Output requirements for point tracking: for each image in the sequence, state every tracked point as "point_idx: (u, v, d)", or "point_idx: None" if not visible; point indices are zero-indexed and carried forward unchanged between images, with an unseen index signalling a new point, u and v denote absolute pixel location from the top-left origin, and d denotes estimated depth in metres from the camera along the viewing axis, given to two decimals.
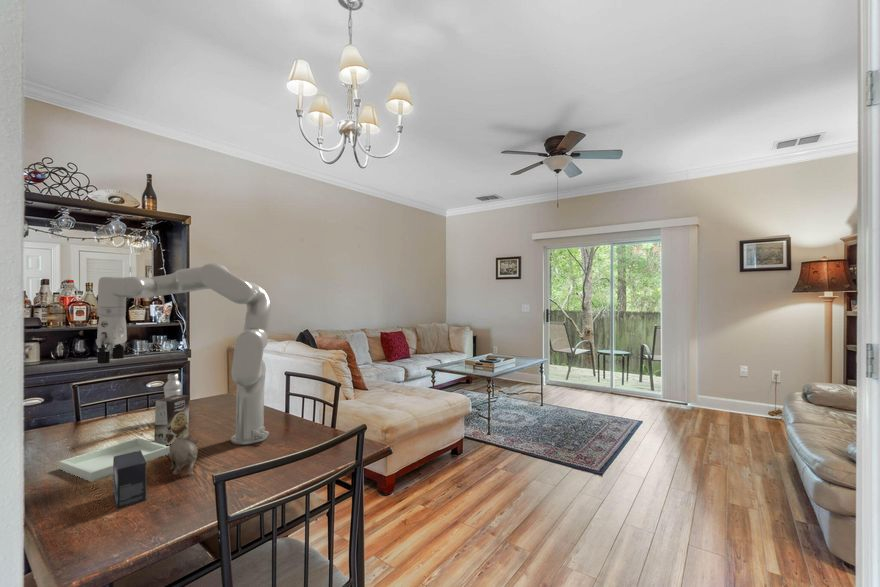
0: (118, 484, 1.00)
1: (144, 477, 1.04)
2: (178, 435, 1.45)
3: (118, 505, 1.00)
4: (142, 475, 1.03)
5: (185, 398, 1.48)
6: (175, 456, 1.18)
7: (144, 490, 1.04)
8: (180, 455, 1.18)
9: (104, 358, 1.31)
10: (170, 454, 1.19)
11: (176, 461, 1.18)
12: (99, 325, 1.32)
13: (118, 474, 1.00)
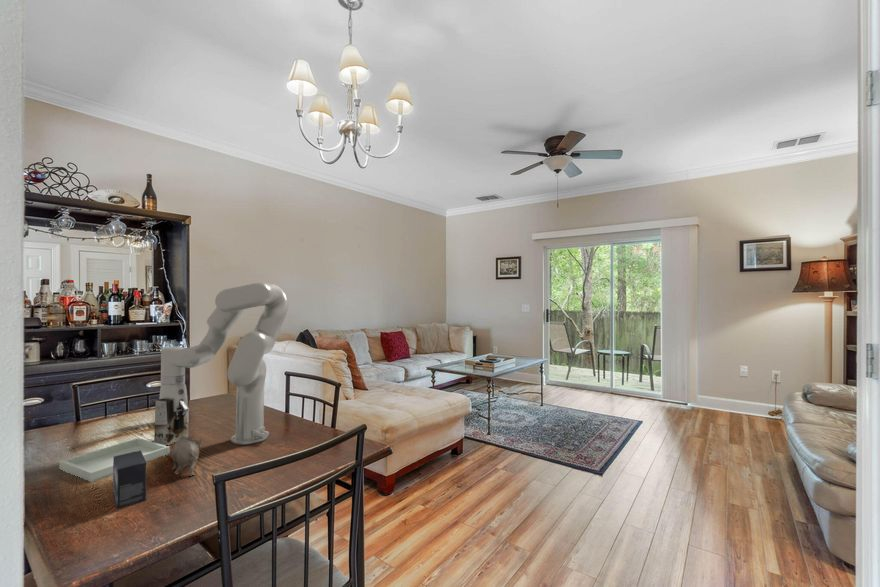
0: (118, 484, 1.00)
1: (144, 477, 1.04)
2: (178, 435, 1.45)
3: (118, 505, 1.00)
4: (142, 475, 1.03)
5: None
6: (176, 456, 1.18)
7: (144, 490, 1.04)
8: (182, 455, 1.18)
9: (182, 424, 1.44)
10: (172, 454, 1.19)
11: (177, 461, 1.18)
12: (176, 393, 1.42)
13: (118, 474, 1.00)
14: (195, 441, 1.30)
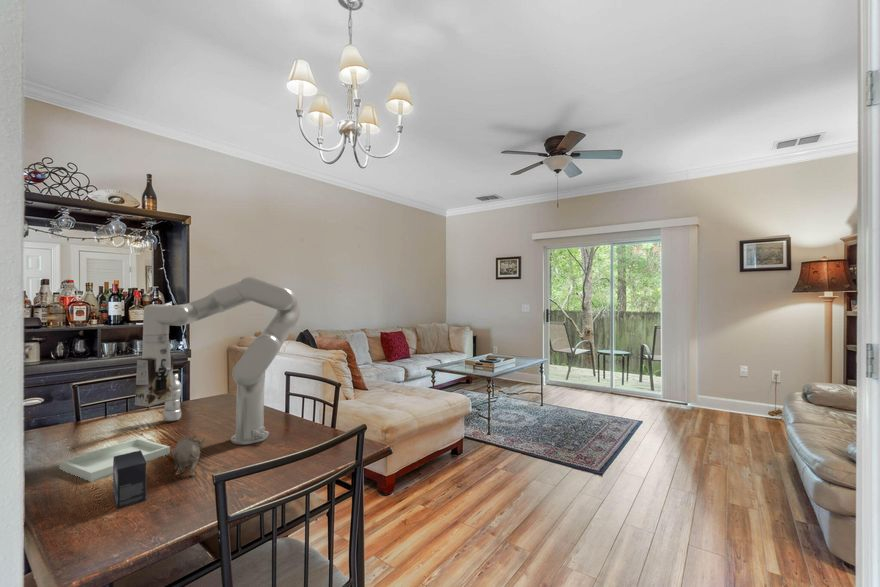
0: (118, 484, 1.00)
1: (144, 477, 1.04)
2: (160, 397, 1.38)
3: (118, 505, 1.00)
4: (142, 475, 1.03)
5: None
6: (177, 456, 1.18)
7: (144, 490, 1.04)
8: (182, 455, 1.17)
9: (164, 385, 1.37)
10: (173, 454, 1.19)
11: (178, 461, 1.18)
12: (158, 353, 1.36)
13: (118, 474, 1.00)
14: (197, 441, 1.30)
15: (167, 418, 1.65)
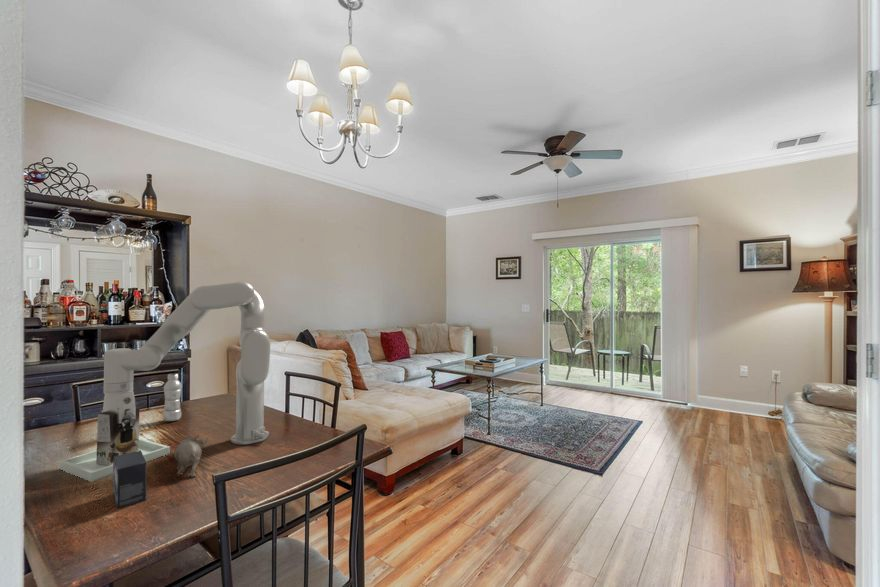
0: (118, 484, 1.00)
1: (144, 477, 1.04)
2: (125, 453, 1.26)
3: (118, 505, 1.00)
4: (142, 475, 1.03)
5: None
6: (178, 457, 1.18)
7: (144, 490, 1.04)
8: (183, 456, 1.17)
9: (130, 436, 1.25)
10: (174, 454, 1.19)
11: (179, 462, 1.18)
12: (121, 402, 1.24)
13: (118, 474, 1.00)
14: (200, 441, 1.30)
15: (167, 418, 1.65)
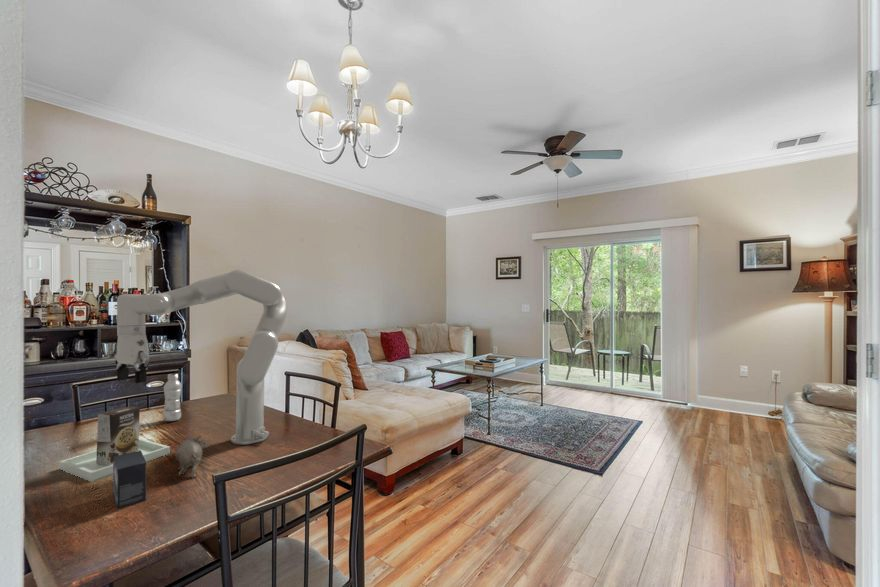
0: (118, 484, 1.00)
1: (144, 477, 1.04)
2: (125, 453, 1.26)
3: (118, 505, 1.00)
4: (142, 475, 1.03)
5: (134, 411, 1.29)
6: (179, 457, 1.17)
7: (144, 490, 1.04)
8: (184, 456, 1.17)
9: (144, 377, 1.30)
10: (176, 454, 1.19)
11: (180, 462, 1.18)
12: (135, 344, 1.29)
13: (118, 474, 1.00)
14: (202, 441, 1.30)
15: (167, 418, 1.65)
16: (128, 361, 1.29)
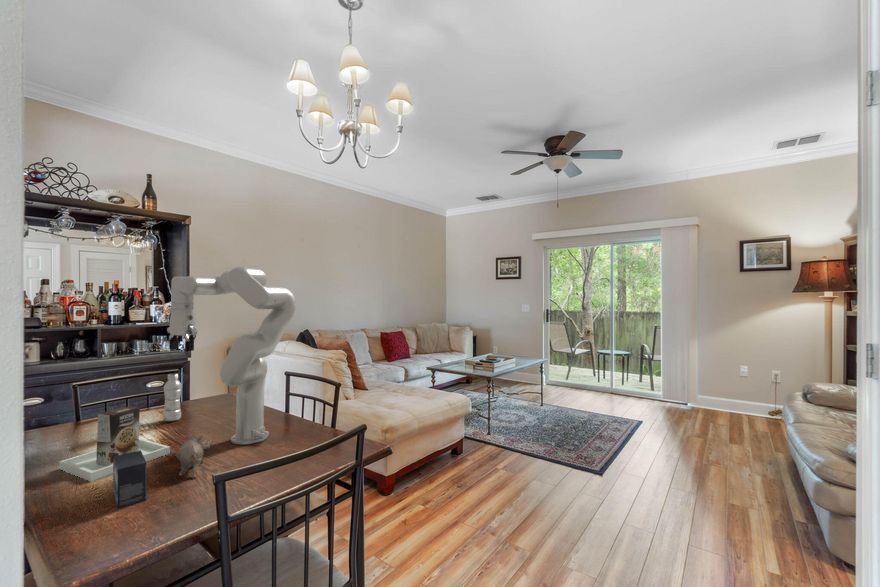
0: (118, 484, 1.00)
1: (144, 477, 1.04)
2: (125, 453, 1.26)
3: (118, 505, 1.00)
4: (142, 475, 1.03)
5: (134, 411, 1.29)
6: (180, 457, 1.17)
7: (144, 490, 1.04)
8: (184, 456, 1.17)
9: (192, 346, 1.55)
10: (177, 454, 1.19)
11: (181, 462, 1.18)
12: (185, 318, 1.53)
13: (118, 474, 1.00)
14: (205, 442, 1.30)
15: (167, 418, 1.65)
16: (180, 333, 1.53)
